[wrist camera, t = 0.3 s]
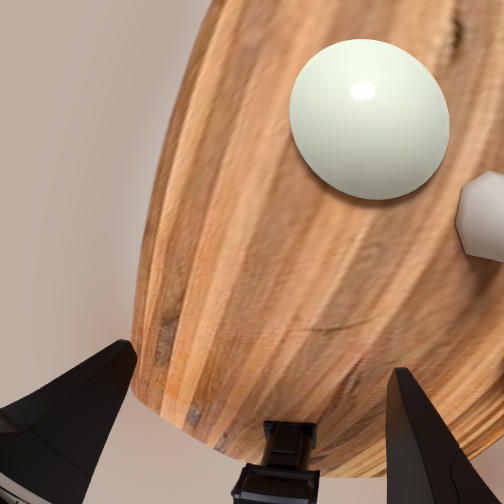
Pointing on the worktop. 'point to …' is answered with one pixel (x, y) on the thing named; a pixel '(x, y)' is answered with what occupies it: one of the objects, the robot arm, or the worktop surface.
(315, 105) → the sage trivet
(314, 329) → the worktop surface
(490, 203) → the flask
